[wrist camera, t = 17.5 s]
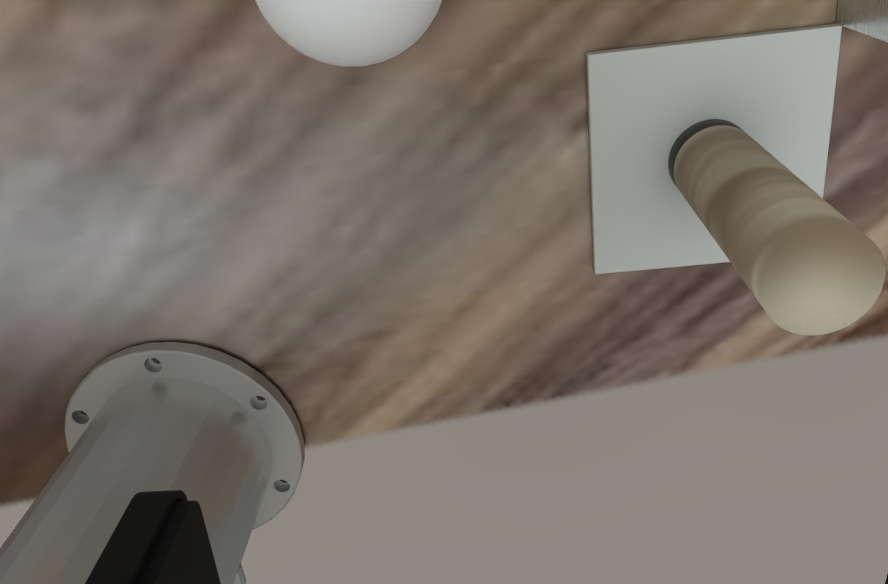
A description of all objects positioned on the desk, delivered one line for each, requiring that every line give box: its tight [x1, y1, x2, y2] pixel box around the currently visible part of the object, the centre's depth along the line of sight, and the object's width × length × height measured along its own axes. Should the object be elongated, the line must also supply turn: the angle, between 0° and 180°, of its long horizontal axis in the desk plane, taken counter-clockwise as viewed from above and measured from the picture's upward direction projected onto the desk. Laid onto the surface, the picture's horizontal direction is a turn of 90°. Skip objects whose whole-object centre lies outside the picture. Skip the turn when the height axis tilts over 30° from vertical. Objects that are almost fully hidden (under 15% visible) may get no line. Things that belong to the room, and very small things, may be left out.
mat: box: [586, 24, 842, 274], centre depth 34 cm, size 10×10×1 cm
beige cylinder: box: [668, 119, 886, 335], centre depth 28 cm, size 4×4×12 cm
